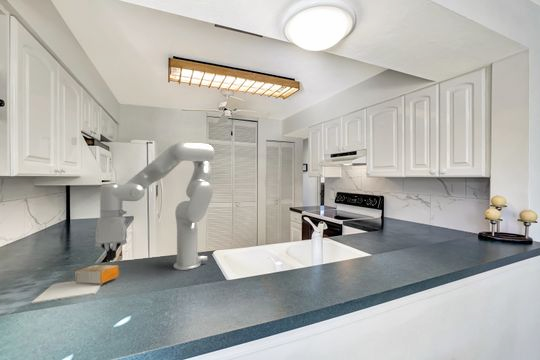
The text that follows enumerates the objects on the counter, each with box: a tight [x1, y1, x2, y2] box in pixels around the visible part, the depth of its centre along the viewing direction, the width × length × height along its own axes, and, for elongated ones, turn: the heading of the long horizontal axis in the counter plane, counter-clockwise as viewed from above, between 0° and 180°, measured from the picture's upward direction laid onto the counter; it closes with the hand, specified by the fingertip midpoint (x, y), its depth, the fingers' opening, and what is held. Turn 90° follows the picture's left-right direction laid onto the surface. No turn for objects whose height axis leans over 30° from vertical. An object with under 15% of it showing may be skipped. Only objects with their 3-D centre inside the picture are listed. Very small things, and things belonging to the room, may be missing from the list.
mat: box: [30, 280, 104, 305], centre depth 91 cm, size 18×16×1 cm
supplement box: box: [74, 264, 120, 284], centre depth 98 cm, size 8×5×13 cm
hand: (111, 259), depth 96 cm, fingers closed
